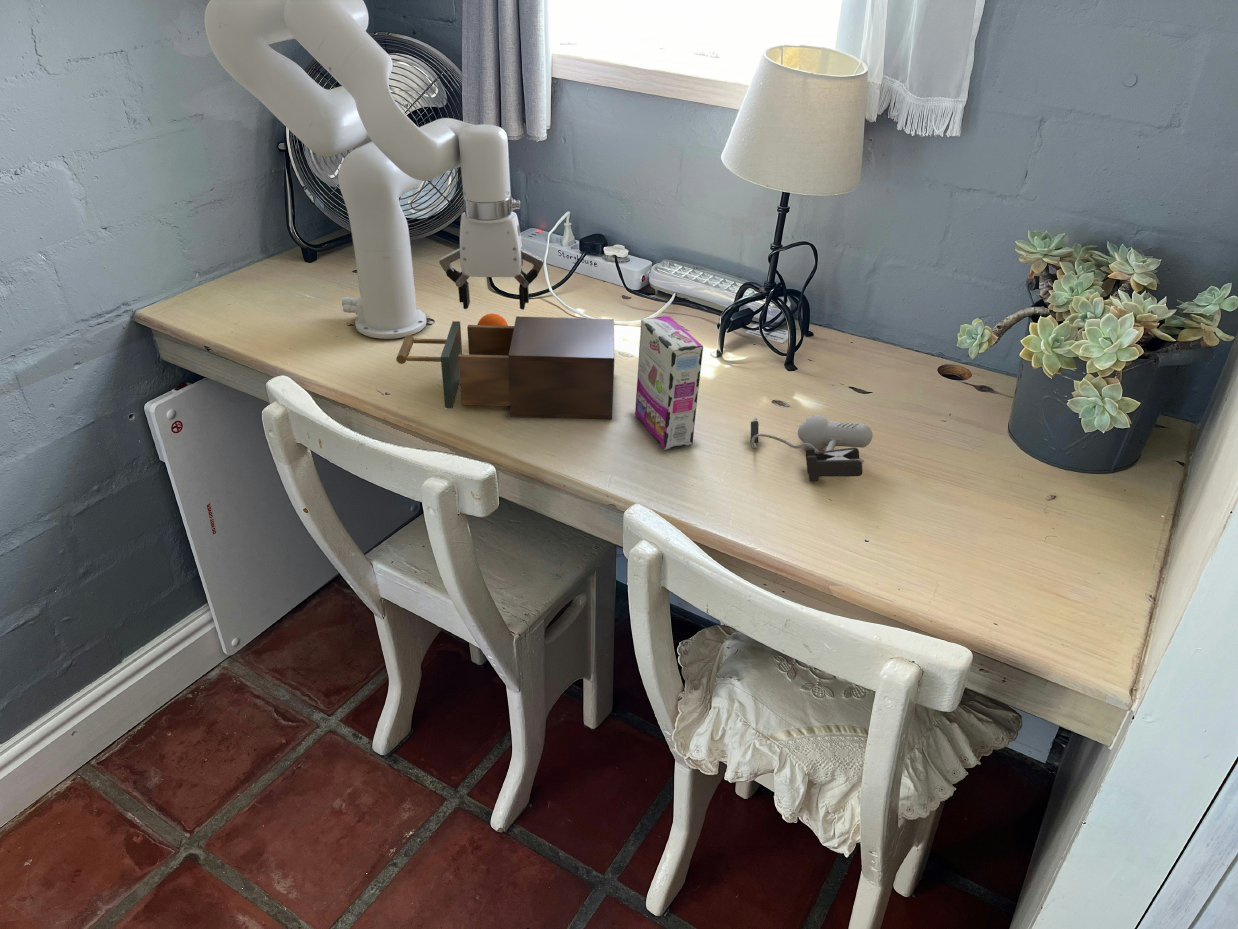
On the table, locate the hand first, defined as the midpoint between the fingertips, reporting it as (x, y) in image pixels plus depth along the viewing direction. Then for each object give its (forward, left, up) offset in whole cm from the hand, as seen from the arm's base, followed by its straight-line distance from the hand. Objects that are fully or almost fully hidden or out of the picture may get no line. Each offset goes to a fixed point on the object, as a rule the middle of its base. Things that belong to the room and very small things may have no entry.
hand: (494, 306), depth 150 cm
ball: (-1, 0, -5) cm, 5 cm away
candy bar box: (+32, -22, -8) cm, 40 cm away
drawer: (+1, -18, -6) cm, 19 cm away
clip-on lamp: (+53, -25, -7) cm, 59 cm away
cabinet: (+15, -15, -7) cm, 23 cm away
